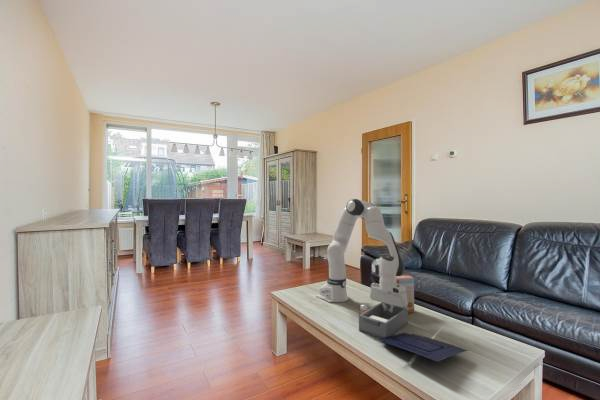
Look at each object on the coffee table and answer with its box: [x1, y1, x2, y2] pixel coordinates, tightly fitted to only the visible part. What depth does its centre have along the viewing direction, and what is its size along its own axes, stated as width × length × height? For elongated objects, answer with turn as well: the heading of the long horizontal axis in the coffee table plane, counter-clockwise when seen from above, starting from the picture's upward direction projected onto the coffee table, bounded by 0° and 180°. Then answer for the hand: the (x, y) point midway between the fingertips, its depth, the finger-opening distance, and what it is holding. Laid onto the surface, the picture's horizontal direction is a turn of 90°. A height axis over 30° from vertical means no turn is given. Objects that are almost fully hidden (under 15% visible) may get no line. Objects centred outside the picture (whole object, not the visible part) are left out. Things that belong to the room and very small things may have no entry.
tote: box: [358, 302, 409, 339], centre depth 150 cm, size 15×27×8 cm, turn 137°
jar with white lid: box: [359, 302, 370, 315], centre depth 161 cm, size 5×5×8 cm
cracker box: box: [396, 275, 415, 314], centre depth 171 cm, size 14×6×21 cm, turn 99°
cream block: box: [369, 315, 388, 322], centre depth 145 cm, size 10×7×5 cm
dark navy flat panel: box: [378, 332, 469, 362], centre depth 126 cm, size 24×30×4 cm
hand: (388, 311), depth 154 cm, fingers closed
